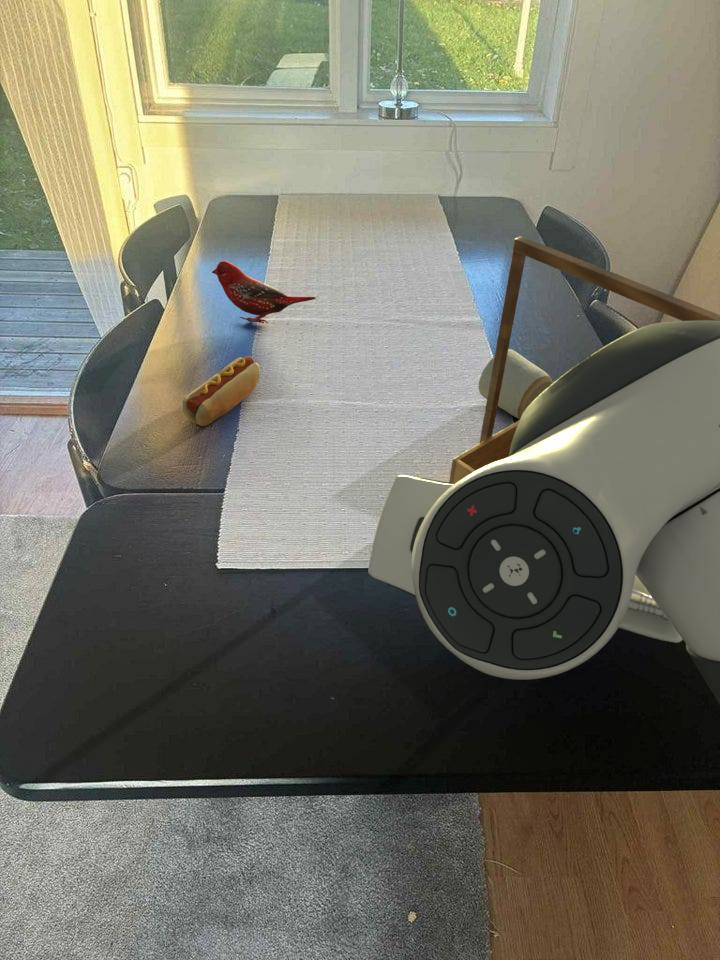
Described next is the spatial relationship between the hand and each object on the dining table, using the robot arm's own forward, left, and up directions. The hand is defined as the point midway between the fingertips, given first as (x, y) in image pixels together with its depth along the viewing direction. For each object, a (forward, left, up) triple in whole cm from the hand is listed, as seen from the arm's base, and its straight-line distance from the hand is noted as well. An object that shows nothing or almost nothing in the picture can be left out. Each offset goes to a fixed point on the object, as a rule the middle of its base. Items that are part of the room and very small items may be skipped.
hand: (527, 564), depth 52 cm
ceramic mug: (+42, -26, -18) cm, 52 cm away
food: (+54, +14, -18) cm, 58 cm away
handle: (+21, -18, -18) cm, 33 cm away
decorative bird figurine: (+75, +3, -18) cm, 77 cm away
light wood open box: (+21, -18, -18) cm, 33 cm away
